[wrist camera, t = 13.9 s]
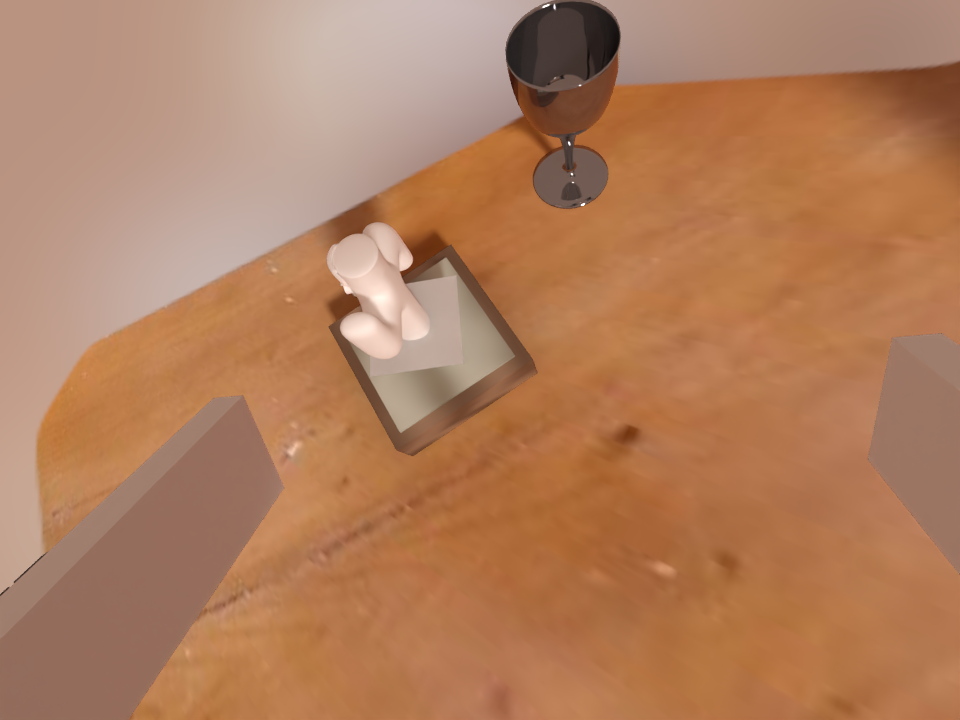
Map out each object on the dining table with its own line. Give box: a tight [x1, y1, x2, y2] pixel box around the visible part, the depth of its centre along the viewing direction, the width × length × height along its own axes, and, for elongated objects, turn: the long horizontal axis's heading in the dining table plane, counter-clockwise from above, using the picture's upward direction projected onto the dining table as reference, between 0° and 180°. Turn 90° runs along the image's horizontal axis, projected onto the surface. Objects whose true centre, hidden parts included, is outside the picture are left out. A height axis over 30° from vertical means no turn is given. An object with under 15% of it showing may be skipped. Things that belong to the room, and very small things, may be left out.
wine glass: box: [506, 0, 621, 209], centre depth 43 cm, size 8×8×15 cm
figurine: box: [327, 222, 463, 377], centre depth 36 cm, size 7×9×15 cm
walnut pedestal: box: [329, 245, 537, 456], centre depth 45 cm, size 13×13×4 cm
